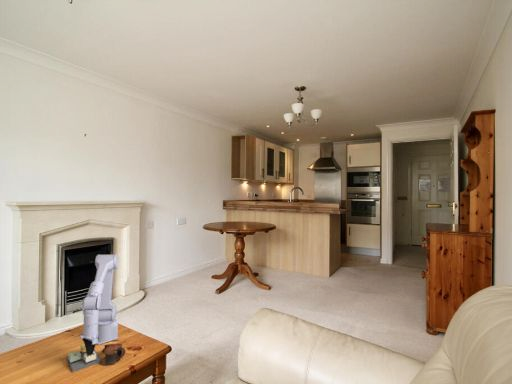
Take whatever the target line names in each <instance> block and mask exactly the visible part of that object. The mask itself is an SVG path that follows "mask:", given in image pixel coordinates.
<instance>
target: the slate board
mask: <svg viewBox="0 0 512 384" xmlns="http://www.w3.org/2000/svg"><path fill="white" fill-rule="evenodd" d="M79 352H80V353H81V359H79V360H77V361H74V362H71V363H70V361H69V359H68V355H66V356H65V359H66V360H65V361H66V362H67V363H68V365H69V368H70V370H71V372H72V373H74V372H78V371H80V370H82V369H86V368H88V367H91V366H94V365H96V364H99V363H102V358H101V357H100V355H99V354H98V353H97V351H96V349H95V348H94V352H95V353H96V359H95V360H92V361H89V362H85V360H84V353H87V352H83V353H82V351H81V350H79Z"/></svg>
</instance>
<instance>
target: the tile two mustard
mask: <svg viewBox="0 0 512 384" xmlns="http://www.w3.org/2000/svg"><path fill="white" fill-rule="evenodd" d="M80 351H82V353H83V352H86V347H85V344H84V343H82V344H80Z"/></svg>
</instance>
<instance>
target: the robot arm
mask: <svg viewBox="0 0 512 384" xmlns="http://www.w3.org/2000/svg"><path fill="white" fill-rule="evenodd" d="M94 265H95V267H96V274H95V277H94V281H92V282H91V283H90V284H89V285H90V286H89V289H88V291H87V294H86V296H85V297H84V298H83V299H82V302H81V310H82V315H83V328H82V330H83V332H82V334H80V336H79V338H80V339H81V340H82V341H83V344H85V347H86V352H87V355H90V354H93V352H94V349H95V348H96V345H98V346H99V345H102V344H105V343H108V342H111V341H115V340H118V339H119V324H118V323H119V322H118V320H117V314H118V311H117V305H116V304H115V303H113V302H112V297H113V296H112V295H113V294H112V293H113V282H114V272H115V271H116V270H118V267H119V255H118V254H117V253H115V254H97V255H96V256H95V260H94Z"/></svg>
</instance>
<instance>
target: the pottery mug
mask: <svg viewBox="0 0 512 384" xmlns="http://www.w3.org/2000/svg"><path fill="white" fill-rule="evenodd" d="M101 353H104V358H103V359H101V366H110V365H116V361H118V362H119V361H120V360H121V359H122V358H123V357H125V354H126V349H125V348H124V347H123V344H122V343H121V342H119V343H109V344H108V343H107V344H105V345H104V347H103V349H102V351H101Z"/></svg>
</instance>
